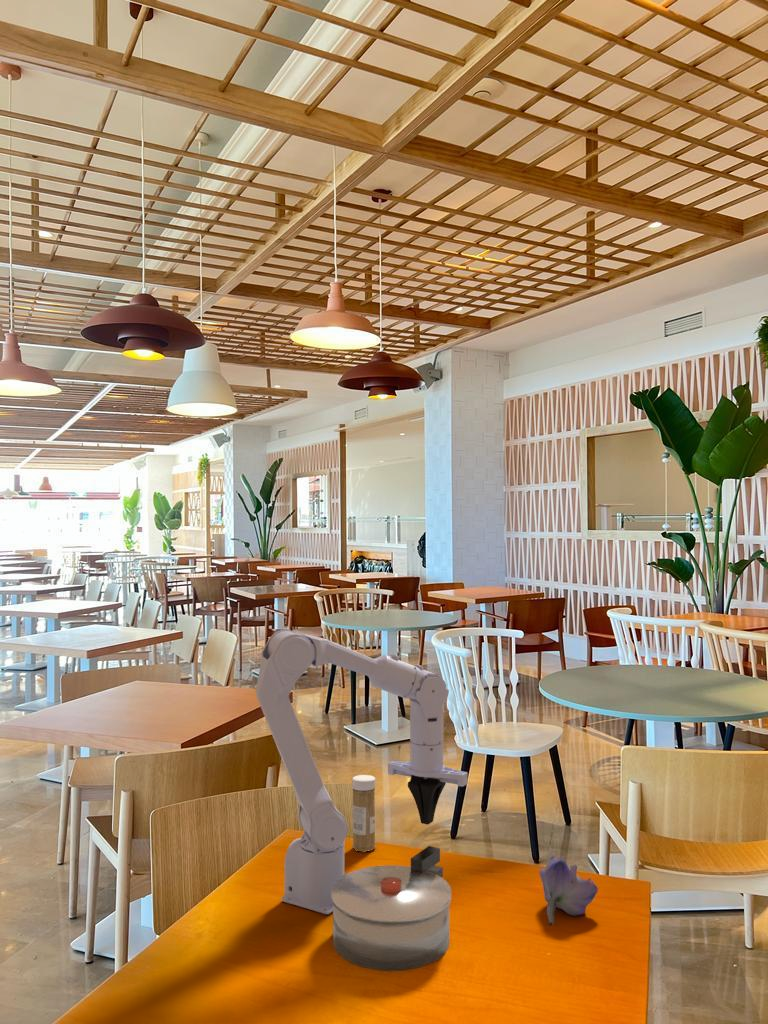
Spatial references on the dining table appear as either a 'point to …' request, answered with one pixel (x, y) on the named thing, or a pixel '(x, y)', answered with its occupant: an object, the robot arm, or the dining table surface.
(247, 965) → the dining table surface
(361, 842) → the sprinkles bottle
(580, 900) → the flower
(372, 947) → the cooker pot
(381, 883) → the cooker lid
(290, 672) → the robot arm
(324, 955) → the dining table surface
